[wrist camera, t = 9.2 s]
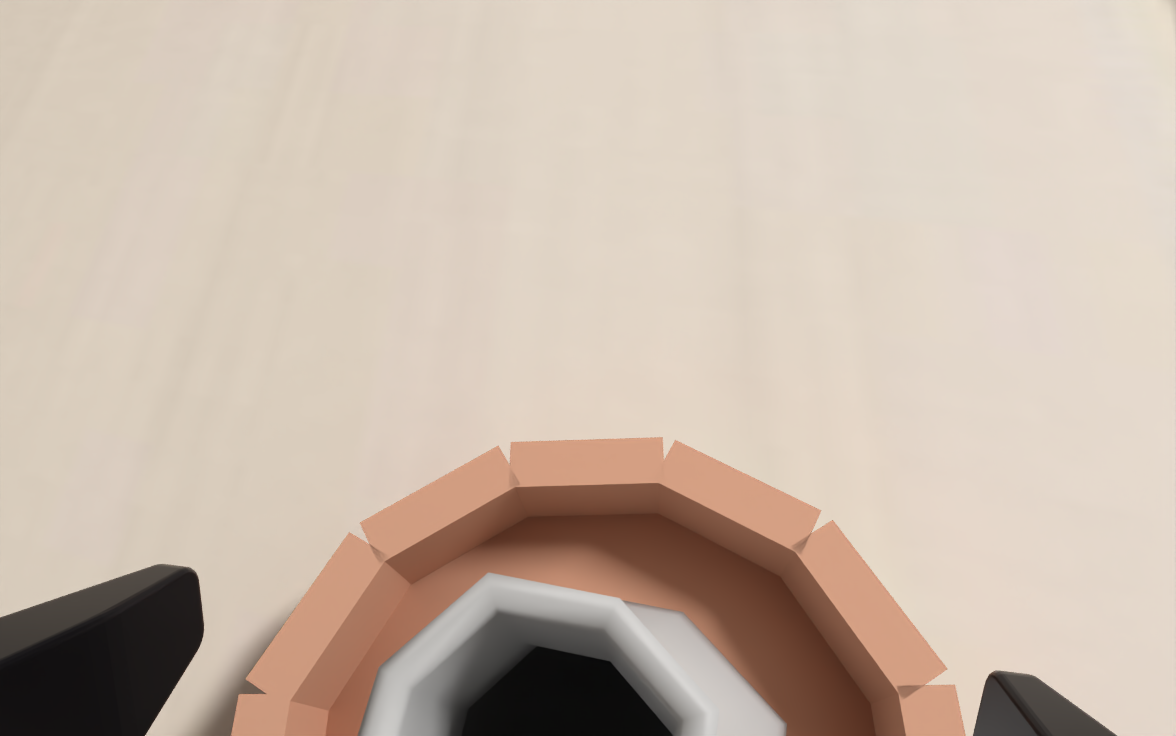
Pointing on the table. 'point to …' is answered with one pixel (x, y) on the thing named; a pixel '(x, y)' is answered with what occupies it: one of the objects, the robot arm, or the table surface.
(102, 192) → the table surface
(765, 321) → the table surface
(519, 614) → the flask
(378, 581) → the bowl
